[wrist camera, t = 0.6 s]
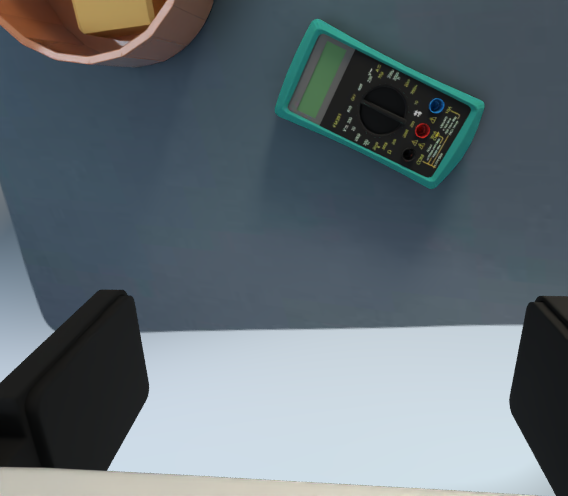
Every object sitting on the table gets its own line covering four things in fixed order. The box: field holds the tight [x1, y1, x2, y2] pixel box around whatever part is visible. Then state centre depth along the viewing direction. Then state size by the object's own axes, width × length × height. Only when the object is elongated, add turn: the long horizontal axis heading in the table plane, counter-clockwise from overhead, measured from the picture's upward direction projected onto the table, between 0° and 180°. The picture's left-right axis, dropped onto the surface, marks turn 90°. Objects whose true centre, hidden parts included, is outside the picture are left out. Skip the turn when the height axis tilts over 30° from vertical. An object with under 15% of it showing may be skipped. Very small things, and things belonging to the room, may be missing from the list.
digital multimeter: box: [275, 19, 485, 189], centre depth 34 cm, size 7×15×3 cm, turn 66°
